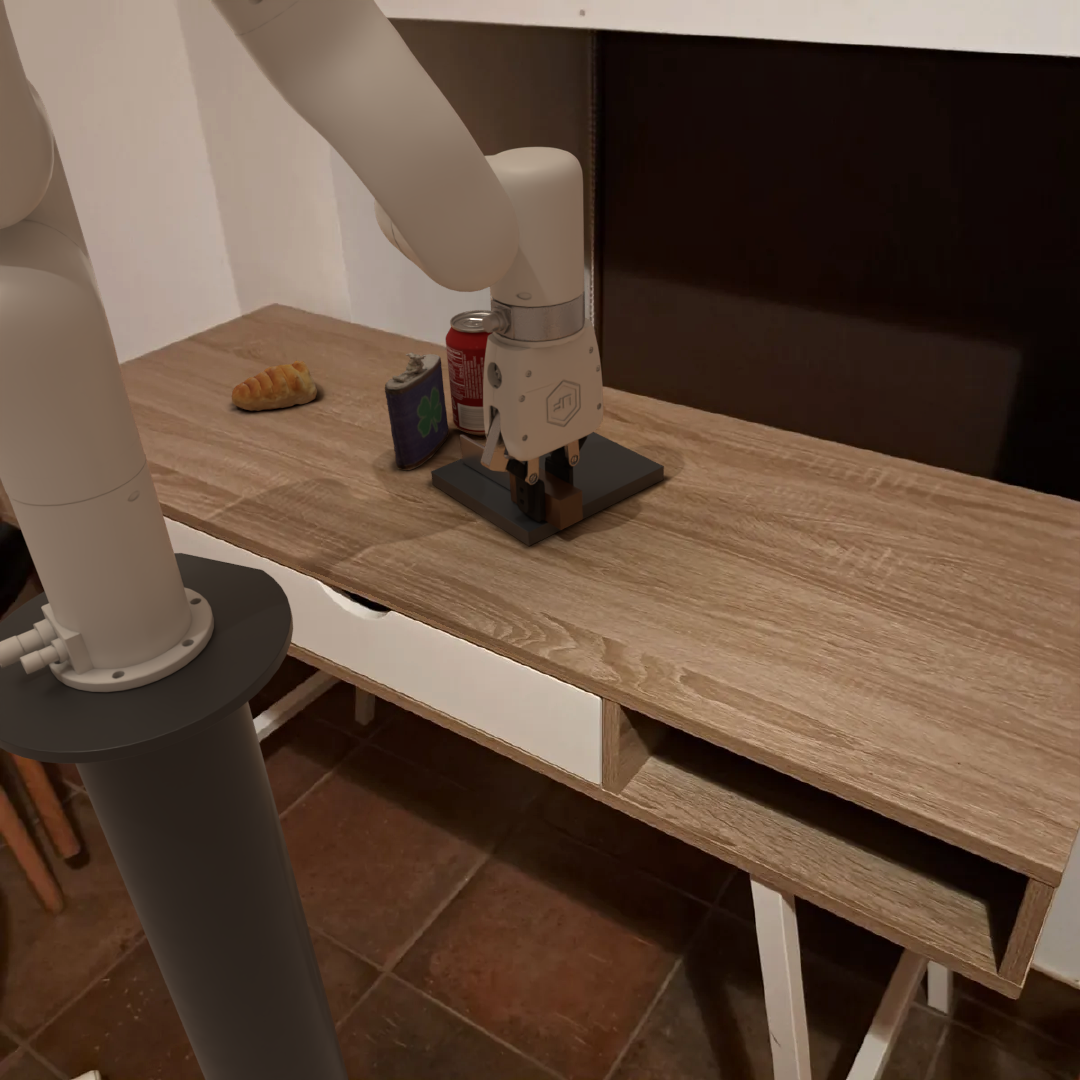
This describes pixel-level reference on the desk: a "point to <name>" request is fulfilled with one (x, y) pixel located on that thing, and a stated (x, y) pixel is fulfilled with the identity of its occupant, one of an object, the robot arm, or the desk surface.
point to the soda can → (467, 369)
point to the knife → (559, 494)
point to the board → (598, 473)
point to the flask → (417, 411)
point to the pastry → (276, 388)
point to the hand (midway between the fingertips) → (545, 506)
